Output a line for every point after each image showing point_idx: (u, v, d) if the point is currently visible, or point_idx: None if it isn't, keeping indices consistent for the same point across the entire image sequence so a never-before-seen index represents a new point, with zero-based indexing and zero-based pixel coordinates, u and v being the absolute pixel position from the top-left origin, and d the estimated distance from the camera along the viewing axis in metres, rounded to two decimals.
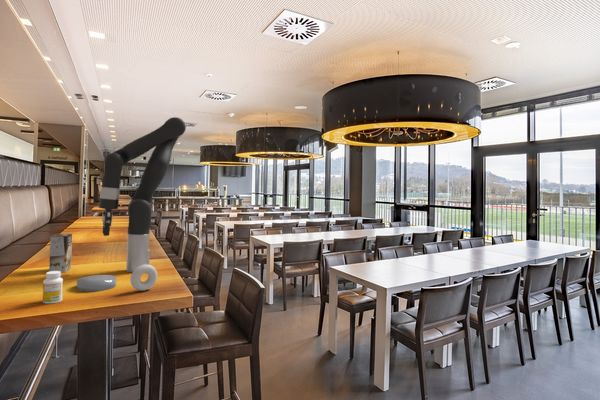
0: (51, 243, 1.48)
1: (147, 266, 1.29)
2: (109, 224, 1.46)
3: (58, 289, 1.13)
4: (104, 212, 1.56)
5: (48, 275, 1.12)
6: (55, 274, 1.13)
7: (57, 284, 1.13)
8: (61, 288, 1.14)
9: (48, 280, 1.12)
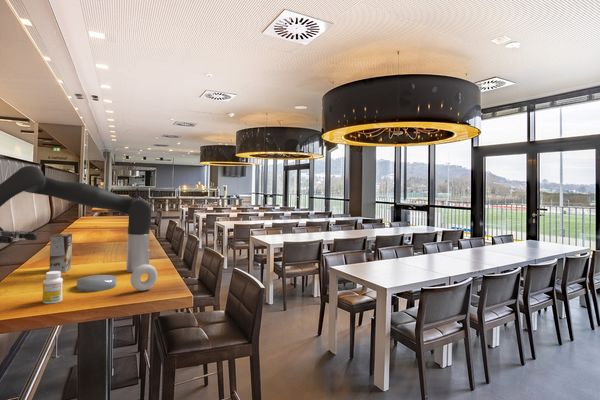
0: (51, 243, 1.48)
1: (147, 266, 1.29)
2: None
3: (58, 289, 1.13)
4: (15, 237, 1.22)
5: (48, 275, 1.12)
6: (55, 274, 1.13)
7: (57, 284, 1.13)
8: (61, 288, 1.14)
9: (48, 280, 1.12)
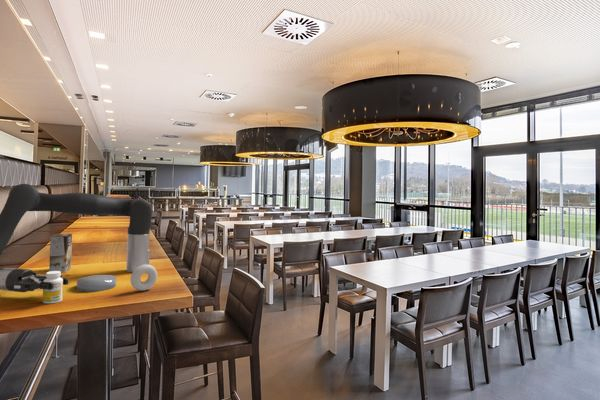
0: (51, 243, 1.48)
1: (147, 266, 1.29)
2: (30, 285, 1.08)
3: (58, 289, 1.13)
4: None
5: (48, 275, 1.12)
6: (55, 274, 1.12)
7: (57, 284, 1.13)
8: (61, 288, 1.14)
9: (48, 280, 1.12)
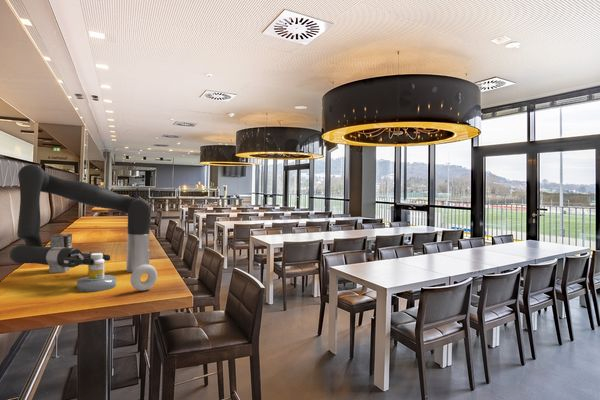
0: (51, 243, 1.48)
1: (147, 266, 1.29)
2: (75, 260, 1.25)
3: (101, 268, 1.31)
4: None
5: (93, 256, 1.29)
6: (99, 255, 1.30)
7: (100, 264, 1.30)
8: (103, 267, 1.32)
9: None
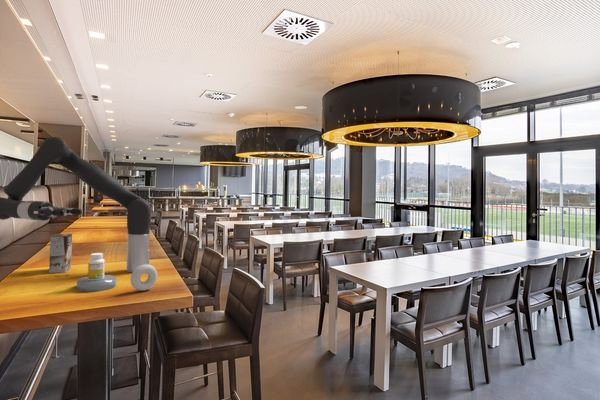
0: (51, 243, 1.48)
1: (147, 266, 1.29)
2: (45, 211, 1.26)
3: (101, 268, 1.31)
4: None
5: (93, 256, 1.30)
6: (99, 255, 1.30)
7: (100, 264, 1.30)
8: (103, 267, 1.32)
9: (93, 260, 1.29)
